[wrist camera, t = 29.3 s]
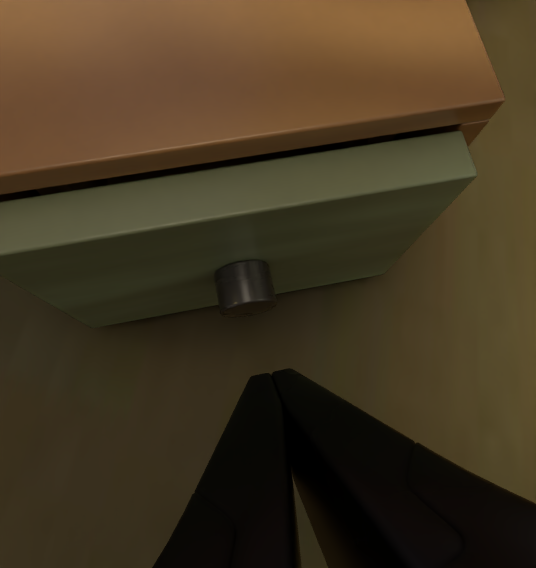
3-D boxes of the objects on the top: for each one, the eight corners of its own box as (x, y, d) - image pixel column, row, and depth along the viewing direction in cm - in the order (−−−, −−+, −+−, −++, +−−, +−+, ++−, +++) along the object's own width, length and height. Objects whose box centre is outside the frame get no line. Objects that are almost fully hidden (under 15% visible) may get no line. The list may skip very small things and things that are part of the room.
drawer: (393, 305, 17) (498, 224, 10) (94, 362, 15) (-29, 318, 9) (317, 40, 20) (355, -163, 13) (66, 72, 19) (-40, -129, 12)
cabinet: (384, 250, 18) (507, 99, 10) (79, 304, 17) (-93, 189, 8) (316, 15, 21) (362, -256, 13) (55, 47, 20) (-87, -226, 12)
